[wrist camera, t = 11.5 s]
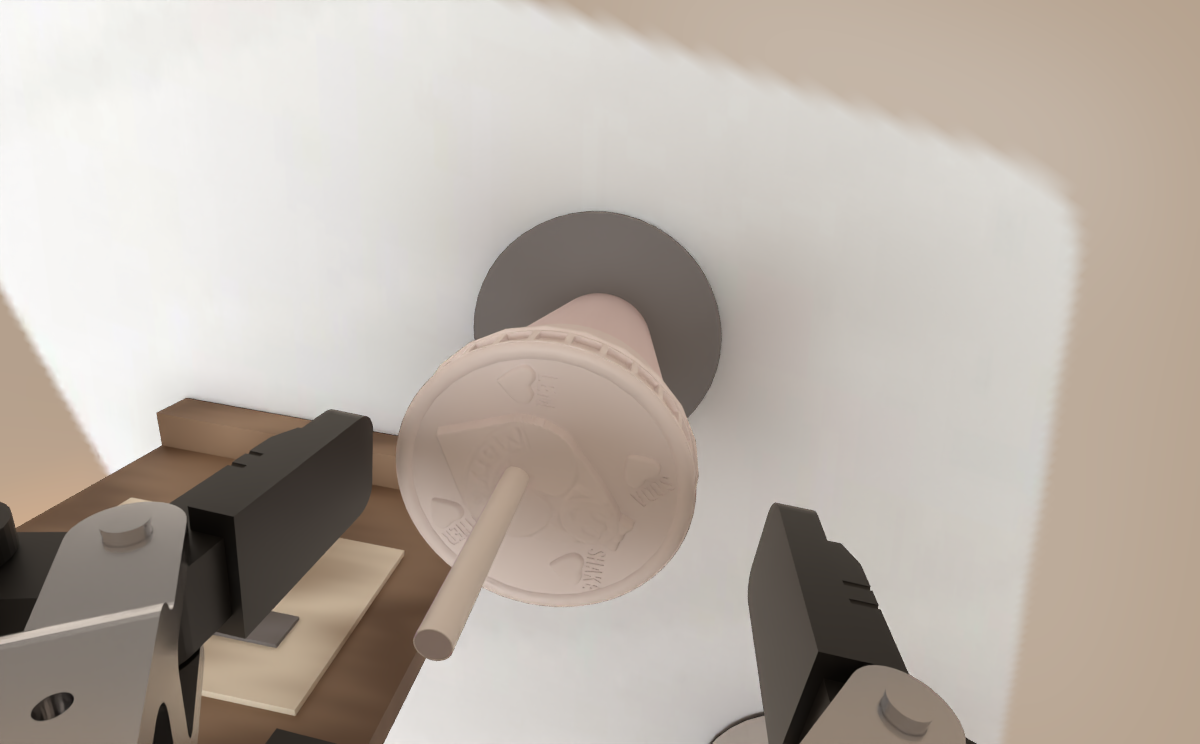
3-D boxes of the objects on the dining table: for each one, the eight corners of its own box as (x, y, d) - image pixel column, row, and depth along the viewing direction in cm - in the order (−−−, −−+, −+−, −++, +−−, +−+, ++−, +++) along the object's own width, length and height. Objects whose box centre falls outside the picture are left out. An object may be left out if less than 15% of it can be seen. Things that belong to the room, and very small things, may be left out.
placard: (505, 455, 23) (337, 751, 12) (499, 534, 25) (343, 867, 13) (186, 398, 24) (-261, 619, 13) (198, 478, 26) (-193, 742, 14)
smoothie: (565, 218, 19) (334, 349, 6) (725, 316, 20) (822, 629, 7) (484, 368, 22) (194, 692, 9) (629, 452, 22) (563, 880, 9)
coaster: (773, 334, 20) (776, 338, 20) (605, 486, 23) (603, 493, 23) (585, 153, 19) (582, 153, 18) (432, 340, 22) (427, 344, 21)
